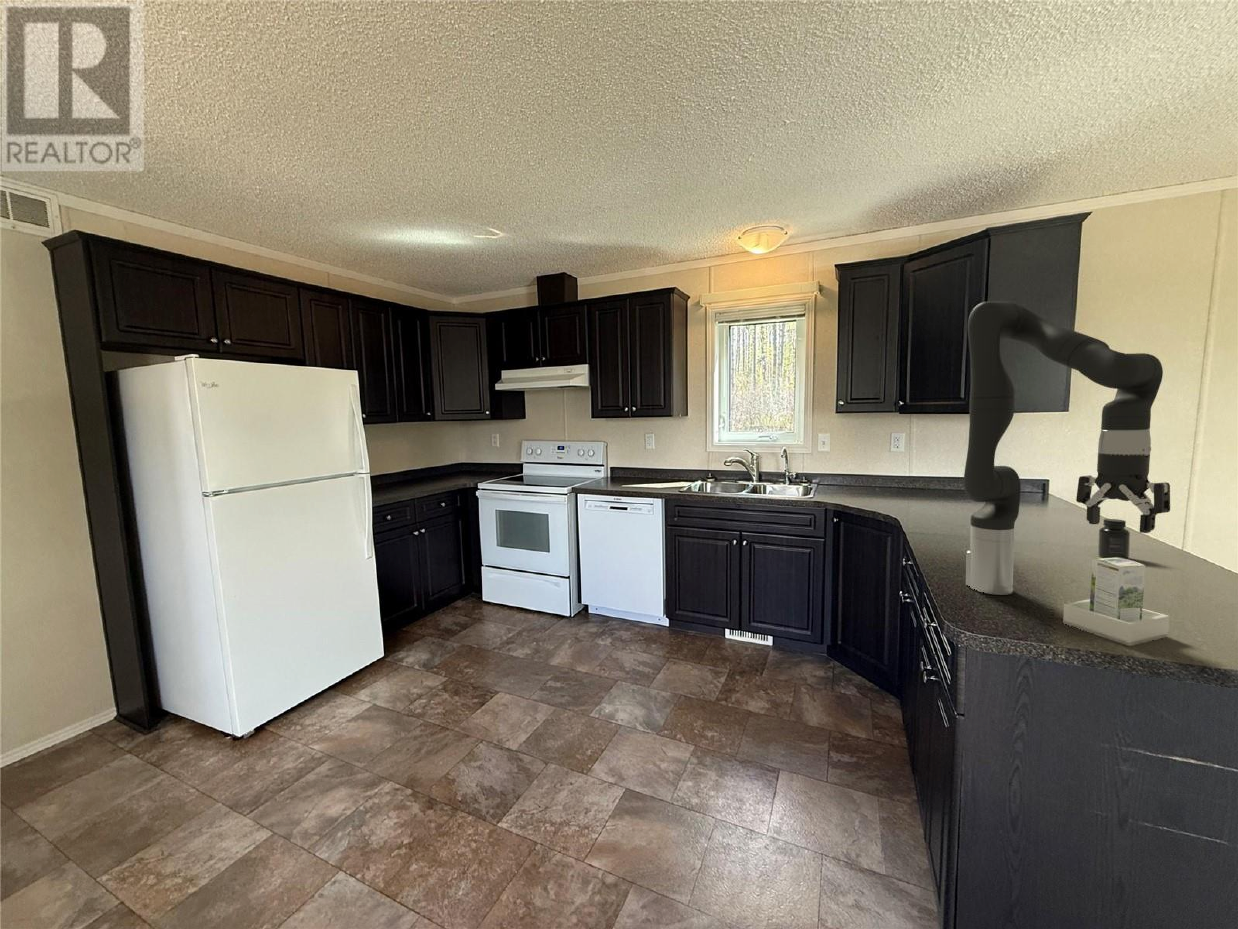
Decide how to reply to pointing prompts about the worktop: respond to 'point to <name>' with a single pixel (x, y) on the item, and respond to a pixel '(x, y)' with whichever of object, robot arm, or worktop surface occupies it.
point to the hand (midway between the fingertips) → (1118, 528)
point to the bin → (1116, 624)
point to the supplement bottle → (1114, 539)
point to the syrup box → (1117, 588)
